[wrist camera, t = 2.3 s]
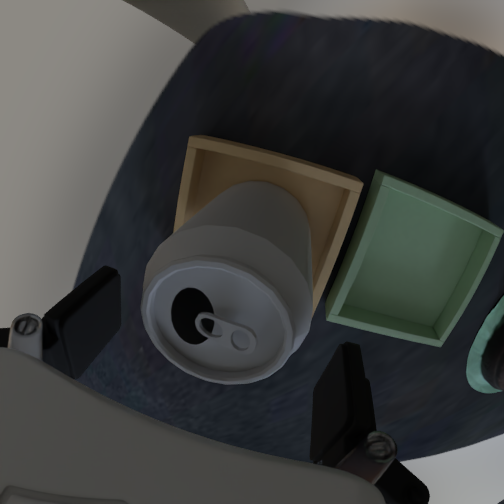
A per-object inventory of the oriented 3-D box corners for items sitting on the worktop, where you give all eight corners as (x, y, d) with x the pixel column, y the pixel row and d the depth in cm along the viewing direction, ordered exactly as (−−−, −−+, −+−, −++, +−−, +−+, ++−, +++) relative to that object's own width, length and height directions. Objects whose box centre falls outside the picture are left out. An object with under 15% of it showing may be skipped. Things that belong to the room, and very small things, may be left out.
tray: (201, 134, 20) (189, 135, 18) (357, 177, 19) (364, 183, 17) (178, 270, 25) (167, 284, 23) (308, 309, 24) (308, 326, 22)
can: (216, 169, 20) (121, 220, 9) (321, 192, 20) (342, 273, 9) (203, 262, 23) (130, 367, 13) (295, 284, 23) (283, 412, 12)
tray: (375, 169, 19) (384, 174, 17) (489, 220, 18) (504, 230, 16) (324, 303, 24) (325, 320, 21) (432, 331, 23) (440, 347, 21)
